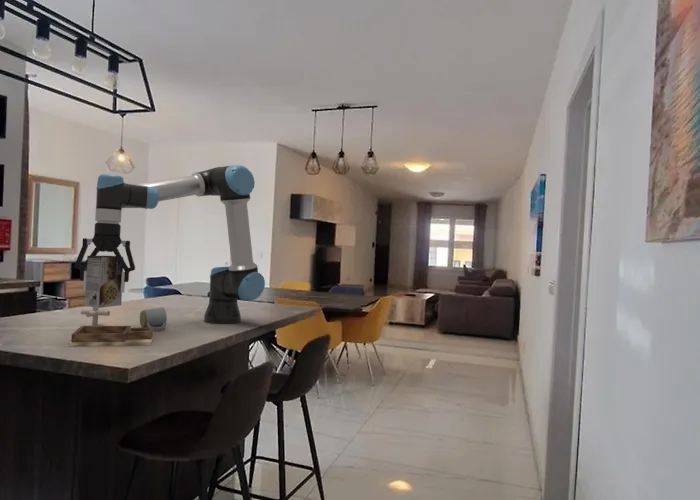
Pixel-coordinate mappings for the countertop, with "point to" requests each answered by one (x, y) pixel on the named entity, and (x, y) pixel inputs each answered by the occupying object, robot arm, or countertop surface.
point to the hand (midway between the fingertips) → (104, 291)
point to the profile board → (111, 336)
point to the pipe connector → (95, 314)
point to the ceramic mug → (153, 319)
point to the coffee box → (103, 281)
